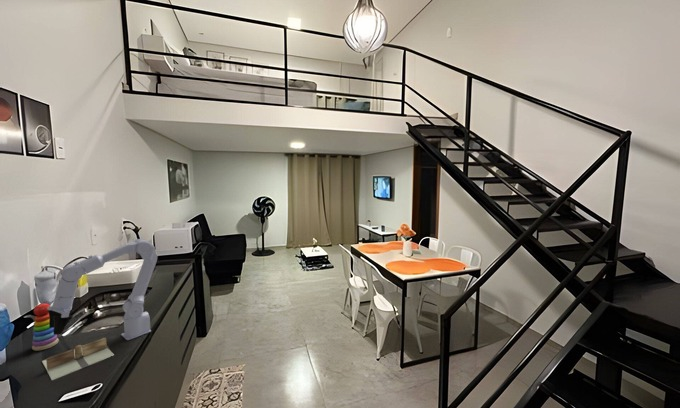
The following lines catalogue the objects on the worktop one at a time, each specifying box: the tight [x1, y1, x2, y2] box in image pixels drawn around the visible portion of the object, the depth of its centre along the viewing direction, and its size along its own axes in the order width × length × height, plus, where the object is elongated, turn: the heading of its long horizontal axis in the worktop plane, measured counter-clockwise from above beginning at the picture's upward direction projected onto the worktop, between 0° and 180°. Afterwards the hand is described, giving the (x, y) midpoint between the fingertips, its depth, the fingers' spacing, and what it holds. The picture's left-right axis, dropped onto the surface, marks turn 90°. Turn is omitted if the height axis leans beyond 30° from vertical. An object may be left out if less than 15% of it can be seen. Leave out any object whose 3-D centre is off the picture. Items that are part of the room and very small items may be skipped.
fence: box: [74, 337, 108, 359], centre depth 115 cm, size 10×2×5 cm, turn 144°
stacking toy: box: [31, 302, 60, 352], centre depth 120 cm, size 8×8×19 cm
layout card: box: [41, 345, 115, 381], centre depth 112 cm, size 18×18×1 cm
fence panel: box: [45, 348, 75, 369], centre depth 108 cm, size 8×1×4 cm, turn 144°
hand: (55, 330), depth 111 cm, fingers open, 7 cm apart
